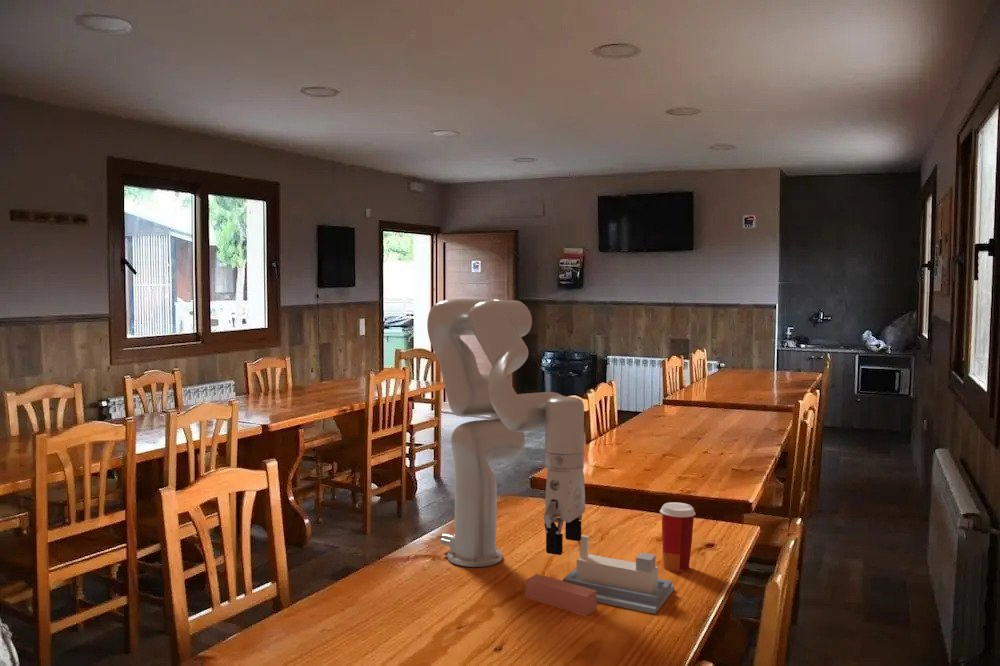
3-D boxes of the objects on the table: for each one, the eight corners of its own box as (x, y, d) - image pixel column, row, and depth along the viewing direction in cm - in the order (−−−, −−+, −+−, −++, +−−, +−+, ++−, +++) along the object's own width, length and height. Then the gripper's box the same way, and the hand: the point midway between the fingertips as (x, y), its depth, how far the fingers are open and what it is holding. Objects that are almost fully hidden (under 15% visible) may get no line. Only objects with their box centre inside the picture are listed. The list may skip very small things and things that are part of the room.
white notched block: (576, 583, 166) (577, 538, 166) (583, 576, 170) (585, 532, 170) (651, 598, 159) (652, 551, 159) (657, 590, 163) (659, 545, 163)
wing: (525, 599, 161) (525, 579, 161) (536, 593, 164) (536, 574, 164) (585, 617, 153) (586, 596, 153) (596, 610, 156) (596, 590, 156)
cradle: (558, 594, 163) (559, 582, 163) (583, 572, 176) (583, 561, 175) (654, 614, 154) (655, 601, 154) (673, 589, 167) (674, 577, 166)
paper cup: (688, 561, 183) (690, 501, 183) (697, 574, 176) (699, 511, 175) (654, 561, 183) (656, 501, 182) (662, 573, 176) (664, 511, 175)
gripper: (565, 470, 147) (565, 562, 148) (597, 454, 163) (597, 537, 163) (528, 466, 151) (528, 556, 151) (563, 451, 166) (563, 532, 167)
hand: (564, 546), depth 157 cm, fingers open, 9 cm apart
